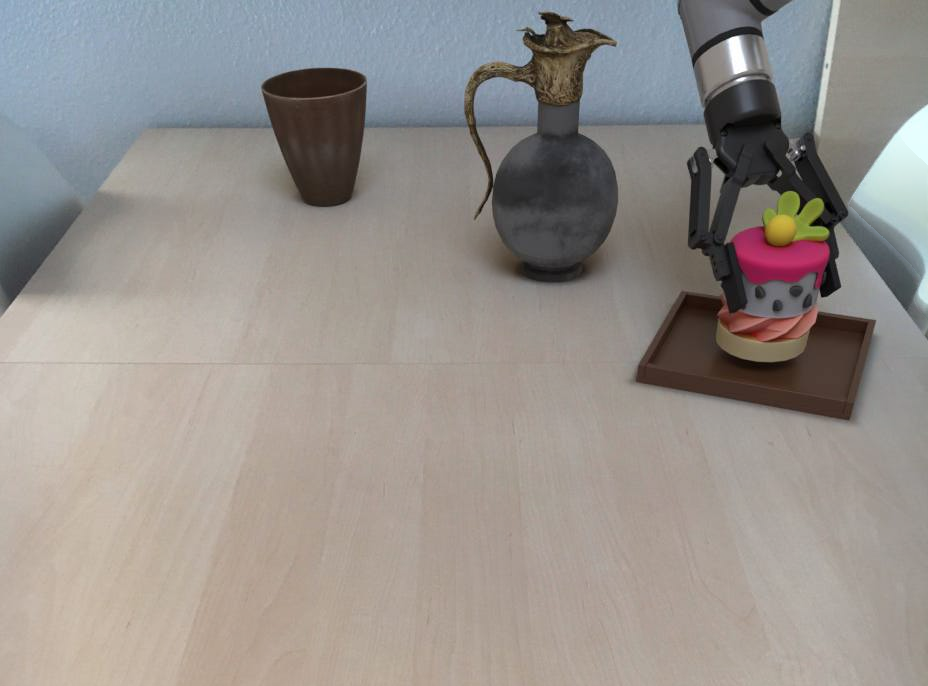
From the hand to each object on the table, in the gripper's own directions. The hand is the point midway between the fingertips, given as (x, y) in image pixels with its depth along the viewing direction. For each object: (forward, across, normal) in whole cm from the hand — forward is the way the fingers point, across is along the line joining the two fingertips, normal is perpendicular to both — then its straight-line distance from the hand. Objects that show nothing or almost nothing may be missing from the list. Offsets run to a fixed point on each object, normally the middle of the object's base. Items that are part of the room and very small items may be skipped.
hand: (785, 300), depth 108 cm
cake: (+2, 0, -6) cm, 7 cm away
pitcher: (-18, +15, -30) cm, 38 cm away
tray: (+4, 0, -8) cm, 9 cm away
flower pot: (-43, +36, -55) cm, 78 cm away
